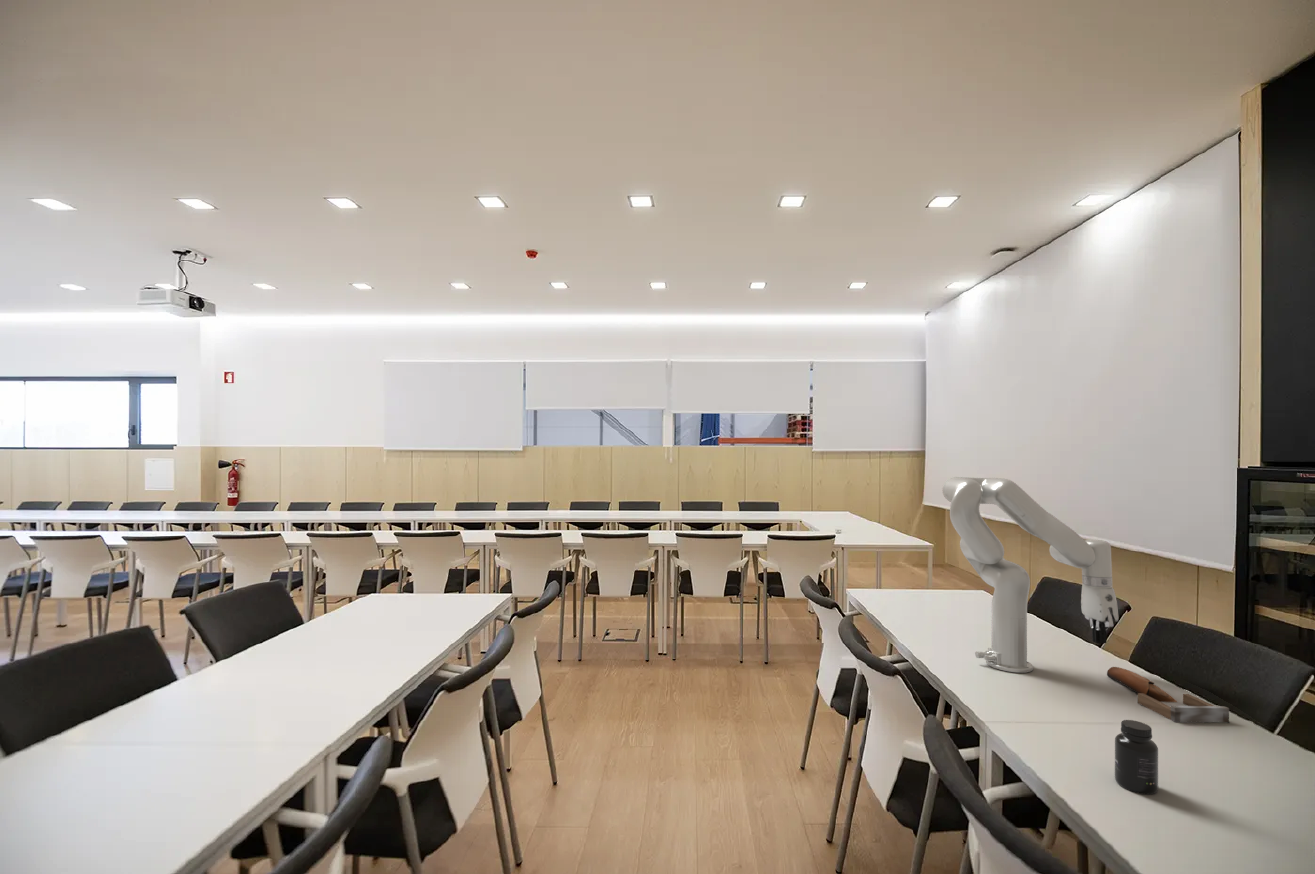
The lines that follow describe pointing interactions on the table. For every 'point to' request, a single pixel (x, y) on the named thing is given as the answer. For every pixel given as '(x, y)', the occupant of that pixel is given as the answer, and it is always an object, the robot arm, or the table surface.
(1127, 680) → the sunglasses case
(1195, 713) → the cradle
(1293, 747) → the table surface
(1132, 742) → the supplement bottle
